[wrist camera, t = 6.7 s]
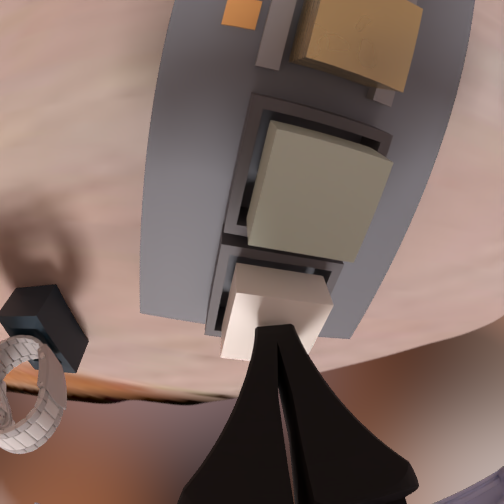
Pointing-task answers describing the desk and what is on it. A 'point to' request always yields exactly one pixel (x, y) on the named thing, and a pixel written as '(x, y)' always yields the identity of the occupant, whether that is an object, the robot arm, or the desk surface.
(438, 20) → the control panel
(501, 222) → the desk surface
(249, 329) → the button cream
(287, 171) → the button sage
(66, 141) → the desk surface
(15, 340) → the watch
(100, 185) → the desk surface
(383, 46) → the slider knob
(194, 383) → the desk surface
